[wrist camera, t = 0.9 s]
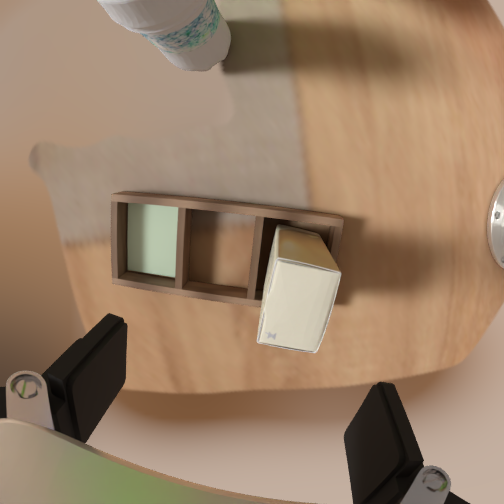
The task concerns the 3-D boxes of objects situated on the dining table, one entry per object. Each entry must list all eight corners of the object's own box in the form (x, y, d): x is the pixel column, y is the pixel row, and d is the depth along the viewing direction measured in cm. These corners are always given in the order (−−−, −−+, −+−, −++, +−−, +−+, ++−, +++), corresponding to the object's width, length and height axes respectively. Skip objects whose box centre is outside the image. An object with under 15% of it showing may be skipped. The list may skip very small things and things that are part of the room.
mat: (183, 206, 31) (182, 207, 31) (180, 276, 33) (179, 277, 33) (129, 201, 31) (128, 202, 31) (129, 268, 33) (127, 269, 33)
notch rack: (339, 215, 30) (344, 219, 28) (322, 304, 33) (325, 315, 30) (122, 191, 31) (111, 194, 29) (122, 275, 34) (112, 283, 31)
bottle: (194, 12, 25) (109, -107, 6) (249, 36, 26) (208, -102, 7) (158, 62, 27) (30, -20, 8) (211, 89, 28) (112, -5, 8)
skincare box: (305, 290, 32) (316, 359, 21) (263, 281, 32) (254, 347, 21) (320, 229, 30) (345, 272, 19) (277, 220, 31) (275, 257, 19)
